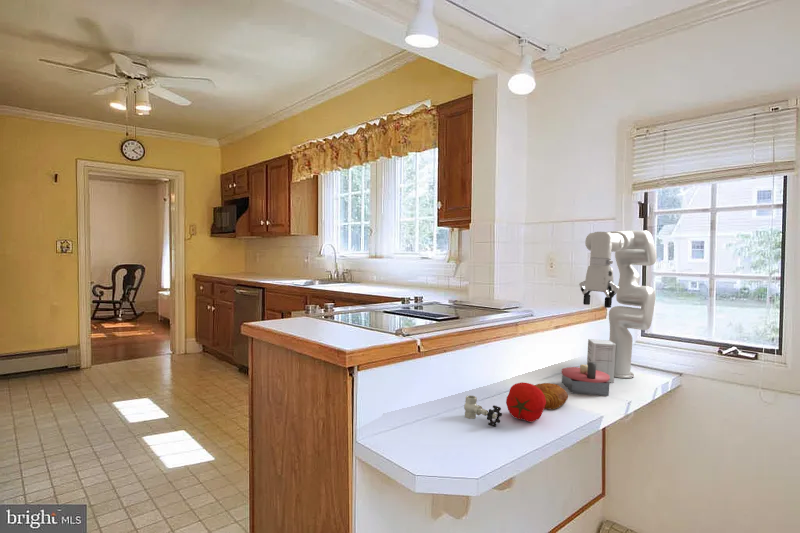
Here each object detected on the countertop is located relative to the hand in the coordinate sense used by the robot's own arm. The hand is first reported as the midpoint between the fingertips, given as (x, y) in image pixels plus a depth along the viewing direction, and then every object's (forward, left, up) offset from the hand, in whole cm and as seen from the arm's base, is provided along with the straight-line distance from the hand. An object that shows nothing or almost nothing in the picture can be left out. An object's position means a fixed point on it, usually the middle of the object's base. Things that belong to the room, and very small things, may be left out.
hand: (596, 306), depth 179 cm
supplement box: (-19, +10, -35) cm, 41 cm away
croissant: (+18, -22, -35) cm, 45 cm away
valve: (+41, -48, -35) cm, 72 cm away
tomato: (+36, -33, -35) cm, 60 cm away
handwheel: (-2, -2, -29) cm, 29 cm away
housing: (-2, -2, -34) cm, 34 cm away
